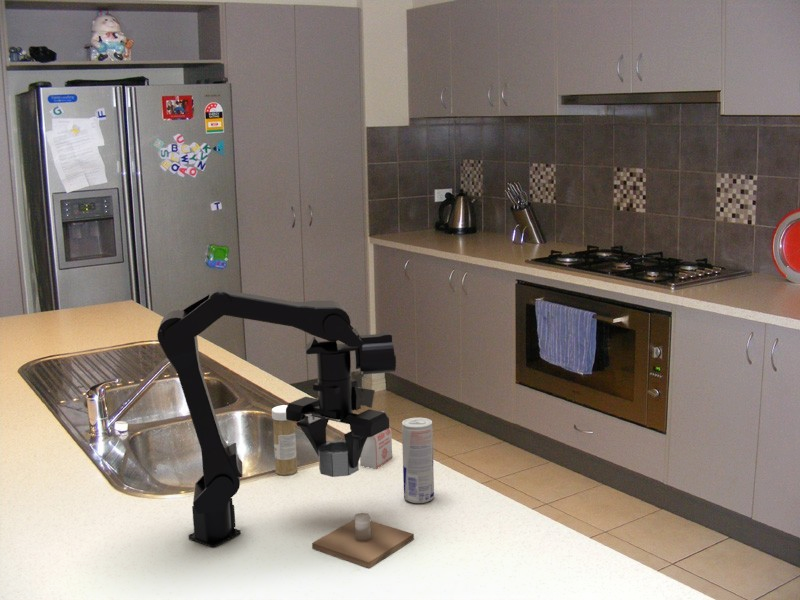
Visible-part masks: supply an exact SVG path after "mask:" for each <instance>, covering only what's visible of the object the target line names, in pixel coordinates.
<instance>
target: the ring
mask: <svg viewBox="0 0 800 600" xmlns="http://www.w3.org/2000/svg"><path fill="white" fill-rule="evenodd" d="M318 453H319V457H318V467H319V473H320V475H323V476H327V477H332V478H337V477H347V476H351V475H352V474H355V473H357V472H358V471H359V470H360V469H359V468H360V467H359V466H360V465H359V464H360V463H359V462H358V465H357V467H355V468H352V467H351V464H350V461H349V457H348V452H347V447H346V442H345V439H344V440H343V439H339V440H330V441H326V443H324V444H322V445H319V446H318Z"/></svg>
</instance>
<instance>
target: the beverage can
mask: <svg viewBox="0 0 800 600" xmlns="http://www.w3.org/2000/svg"><path fill="white" fill-rule="evenodd" d="M433 431H434V430H433V421H432V419H429V418H426V417H411V418H406V419H404V420H402V422H401V439H402V440H401V441H402V442H401V443H402V445H401V446H402V474H403V475H402V476H403V477H402V478H403V498H404V499H405V500H406V501H407V502H410V503H414V504H425V503H428V502H430V501H432V500H433V499H434V498H435V482H434V481H435V477H434V476H435V475H434V474H435V473H434V434H433Z"/></svg>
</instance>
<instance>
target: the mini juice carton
mask: <svg viewBox="0 0 800 600" xmlns="http://www.w3.org/2000/svg"><path fill="white" fill-rule="evenodd" d="M381 412H385V411H381ZM392 437H393V436H392V429H391V427H390V425H389V428H388V429H386V430H384V431H382V432H380V433H378V434H376V435H374V436H372V437H368V438H367V440H366V442H365V444H364V447H363V450H362V453H361V456H360V459H359V462H360V463H359V464H360V465H359V466H364V467H363V468H366V467H369V468H368V469H371V468H373V469H372V470H377V469H379V468H381V467H382V466H383V465H385V464H386V463H387V462H389V461H390V460H392V459H393V438H392ZM384 463H385V464H384ZM381 465H382V466H381ZM378 467H379V468H378Z"/></svg>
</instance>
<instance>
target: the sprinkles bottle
mask: <svg viewBox="0 0 800 600" xmlns="http://www.w3.org/2000/svg"><path fill="white" fill-rule="evenodd" d="M287 406H288V404H286V405H285V404H282V405H278V406H277V405H276V406H275V407H273V408H271V418H272V420H273V421H272V423H273V424H272V425H273V448H274V449H273V450H274V451H273V452H274V462H275V470H274V472H275V473H276V475H280V476H289V475H293V474H295V473H297V472H298V467H297V466H298V465H297V440H296V439H297V438H296V428H295V427H296V425H295V421H291V420H286V408H287Z"/></svg>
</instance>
